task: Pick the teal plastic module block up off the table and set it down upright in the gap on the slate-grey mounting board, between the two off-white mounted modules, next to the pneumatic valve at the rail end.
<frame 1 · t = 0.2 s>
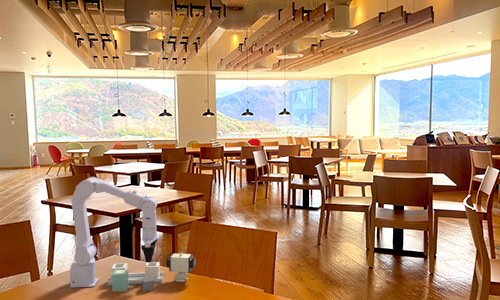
hand: (149, 258, 167), 10 cm above the table, tool pointing down, fingers open, 7 cm apart
pneumatic valve: (181, 280, 170), on the table
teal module: (120, 289, 161), on the table
mounting board: (136, 279, 170), on the table
dark loose block: (148, 288, 161), on the table
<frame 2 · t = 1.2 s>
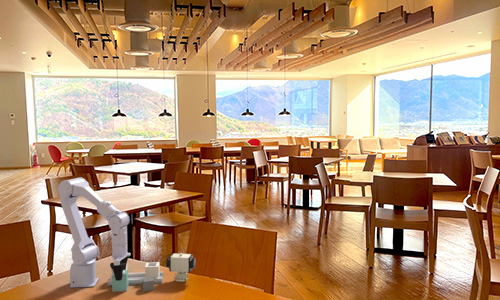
hand: (120, 276, 160), 5 cm above the table, tool pointing down, fingers open, 7 cm apart
nothing on the table moved.
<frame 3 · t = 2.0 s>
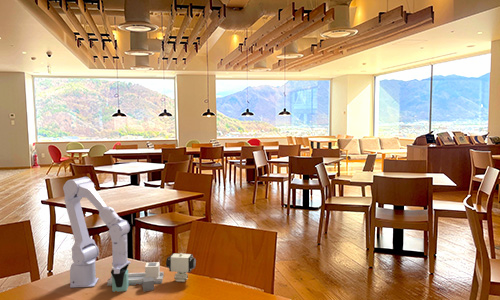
hand: (120, 284, 161), 2 cm above the table, tool pointing down, fingers closed on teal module, 4 cm apart
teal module: (120, 288, 161), on the table, touching gripper
everything else where it was.
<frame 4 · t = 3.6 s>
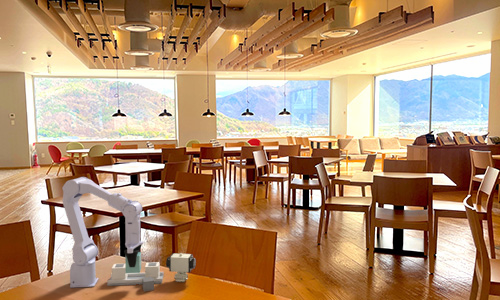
hand: (133, 264, 162), 9 cm above the table, tool pointing down, fingers closed on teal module, 4 cm apart
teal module: (133, 270, 162), point 7 cm above the table, touching gripper
everything else where it was.
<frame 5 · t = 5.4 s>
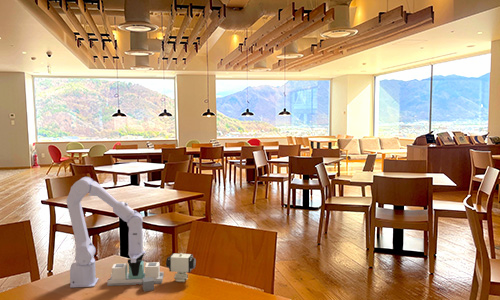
hand: (136, 273, 169), 3 cm above the table, tool pointing down, fingers closed on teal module, 4 cm apart
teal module: (136, 278, 169), point 1 cm above the table, touching gripper, mounting board
everything else where it was.
when the fingers open (3 cm above the table, at t = 5.7 s): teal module stays where it is, resting on mounting board.
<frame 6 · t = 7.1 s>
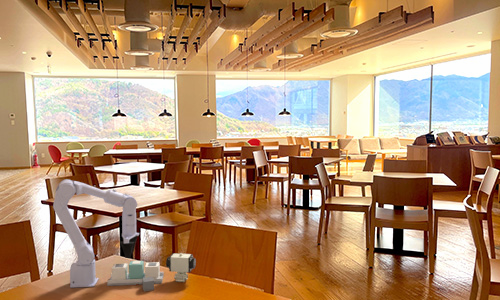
hand: (129, 254, 172), 10 cm above the table, tool pointing down, fingers open, 7 cm apart
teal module: (136, 278, 169), point 1 cm above the table, touching mounting board
everything else where it was.
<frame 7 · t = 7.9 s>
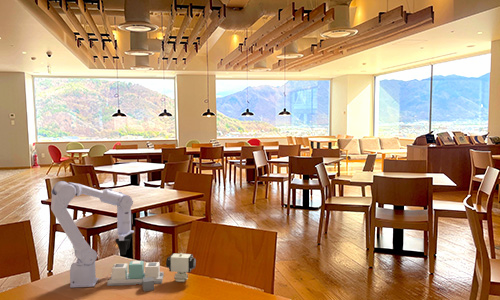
hand: (124, 251, 176), 10 cm above the table, tool pointing down, fingers open, 7 cm apart
nothing on the table moved.
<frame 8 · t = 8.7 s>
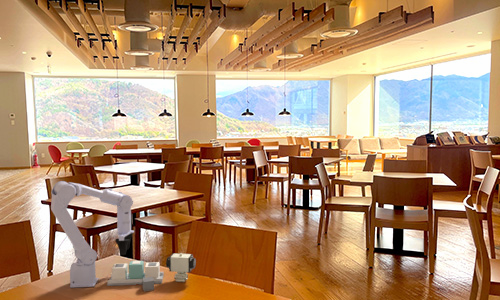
hand: (124, 251, 176), 10 cm above the table, tool pointing down, fingers open, 7 cm apart
nothing on the table moved.
at the end: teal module 0.1 cm from the target spot, point 0.6 cm above the table; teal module tilted 0°; the gripper is holding nothing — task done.
